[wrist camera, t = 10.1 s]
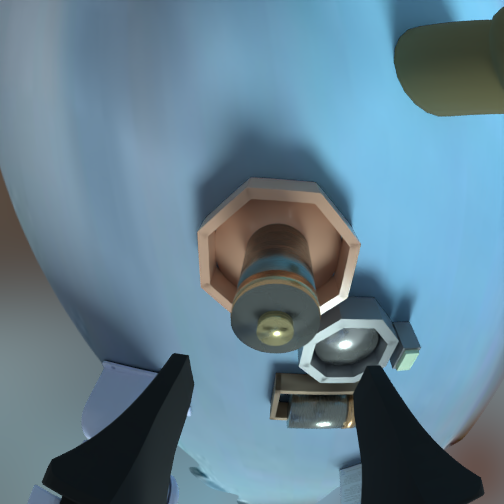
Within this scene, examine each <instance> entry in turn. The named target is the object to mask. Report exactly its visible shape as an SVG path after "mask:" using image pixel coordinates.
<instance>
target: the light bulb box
mask: <svg viewBox="0 0 504 504" xmlns="http://www.w3.org/2000/svg"><path fill="white" fill-rule="evenodd" d="M339 472H340V493H341V504H361V489H362V464H358V465H355V466H352V467H349V468H345V469H342V470H340V471H339Z"/></svg>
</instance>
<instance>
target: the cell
mask: <svg viewBox="0 0 504 504" xmlns="http://www.w3.org/2000/svg"><path fill="white" fill-rule="evenodd" d="M320 319H321V313H320V306H319V300H318V295H317V293H316V287H315V281H314V275H313V269H312V263H311V257H310V251H309V246H308V243H307V240H306V239H305V237H304V236H303V234H302V233H301V232H300V231H298V230H297V229H296V228H294V227H292V226H289V225H286V224H280V223H277V224H269V225H266V226H263V227H261V228H259V229H258V230H257V231H255V232H254V233H253V234H252V236H251V237H250V239H249V241H248V243H247V247H246V251H245V256H244V260H243V265H242V269H241V274H240V278H239V283H238V287H237V290H236V293H235V296H234V300H233V305H232V309H231V326H232V329H233V331H234V333H235V335H236V336H237V337H238V338H239V340H240V341H242V342H243V343H244V344H246V345H247V346H249V347H251V348H253V349H255V350H258V351H261V352H266V353H286V352H290V351H294V350H297V349H299V348H301V347H303V346H305V345H306V344H308V343H309V342H310V341H311V340H312V339H313V338H314V337H315V335H316V334H317V332H318V330H319V327H320Z"/></svg>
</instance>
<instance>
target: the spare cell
mask: <svg viewBox="0 0 504 504" xmlns="http://www.w3.org/2000/svg"><path fill="white" fill-rule="evenodd" d="M354 427H356V423H355V417H354V403H353V394H343V395H307V394H289V400H288V408H287V428H304V429H329V428H341V429H344V428H354Z"/></svg>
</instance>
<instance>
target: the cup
mask: <svg viewBox="0 0 504 504" xmlns="http://www.w3.org/2000/svg"><path fill="white" fill-rule="evenodd" d="M277 223H280V224H286V225H289V226H292V227H294V228H296V229H297V230H298V231H300V232H301V233H302V234H303V236H304V237H305V239H306V240H307V243H308V246H309V251H310V257H311V263H312V269H313V275H314V281H315V287H316V293H317V295H318V300H319V306H320V313H321V314H323V313H325V312H326V311H328V310H329V309H331V308H333V307H334V306H336V305H337V304H339V303H340V302H342V301H344V300H345V299H347V298H348V294H349V290H350V287H351V283H352V279H353V275H354V271H355V267H356V263H357V259H358V254H359V250H360V246H361V243H360V241H359V240H358V238H357V236H356V234H355V232H354V230H353V228H352V227H351V225H350V224H349V223H348V222H347V220H346V219H345V218H344V216H343V215H342V214H341V213H340V211H339V210H338V209H337V207H336V206H335V205H334V204H333V202H332V201H331V200H330V199H329V197H328V196H327V195H326V194H325V193H324V191H323V190H322V189H321V188H320V186H319V185H318V184H317V183H316V182H309V181H297V180H285V179H272V178H256V177H250V178H249V179H248V180H247V181H246V182H245V183H244V184H242V185H241V186H240V187H239V188H238V189H237V190H236V191H234V192H233V193H232V194H231V195H230V196H229V197H228V198H227V199H226V200H224V201H223V202H222V203H221V204H220V205H219V206H218V207H217V208H216V209H215V210H213V211H212V212H211V213H210V214H209V215H208V216H207V217H206V218H205V220H204V222H203V223H202V225H201V227H200V228H199V230H198V232H197V234H198V251H199V267H200V281H201V288H202V289H203V290H205V291H206V292H207V293H208V294H209V295H210V296H211V297H213V298H214V299H215V300H216V301H217V302H218V303H220V304H221V305H222V306H223V307H224V308H225V309H227V310H228V311H229V312H230V313H231V309H232V305H233V300H234V296H235V293H236V290H237V287H238V283H239V278H240V274H241V269H242V265H243V260H244V256H245V251H246V247H247V243H248V241H249V239H250V237H251V236H252V234H253V233H254V232H255V231H257V230H258V229H259V228H261V227H263V226H266V225H269V224H277ZM341 236H342V238H341ZM217 264H218V266H219V268H218V267H217ZM334 272H335V273H334ZM333 274H334V275H333ZM332 275H333V276H332Z"/></svg>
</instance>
